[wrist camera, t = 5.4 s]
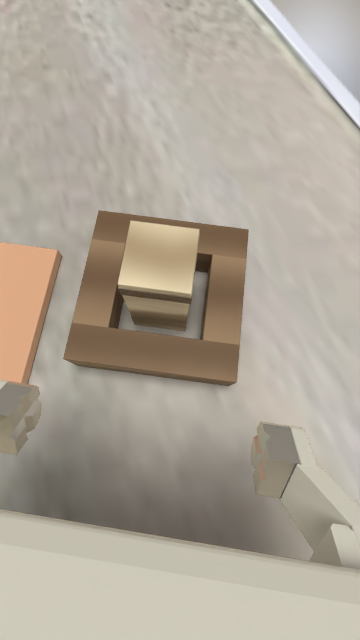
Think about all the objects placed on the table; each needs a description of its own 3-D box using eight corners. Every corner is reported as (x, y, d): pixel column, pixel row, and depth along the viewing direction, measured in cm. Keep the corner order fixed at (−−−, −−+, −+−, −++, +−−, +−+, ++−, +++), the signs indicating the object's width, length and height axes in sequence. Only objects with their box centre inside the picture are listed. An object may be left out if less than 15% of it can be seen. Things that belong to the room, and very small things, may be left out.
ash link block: (185, 331, 24) (192, 294, 17) (133, 324, 24) (116, 284, 17) (191, 283, 26) (200, 228, 18) (142, 277, 26) (129, 219, 18)
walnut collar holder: (228, 385, 23) (236, 382, 20) (76, 365, 23) (63, 358, 21) (240, 249, 27) (248, 229, 24) (106, 232, 27) (99, 210, 24)
